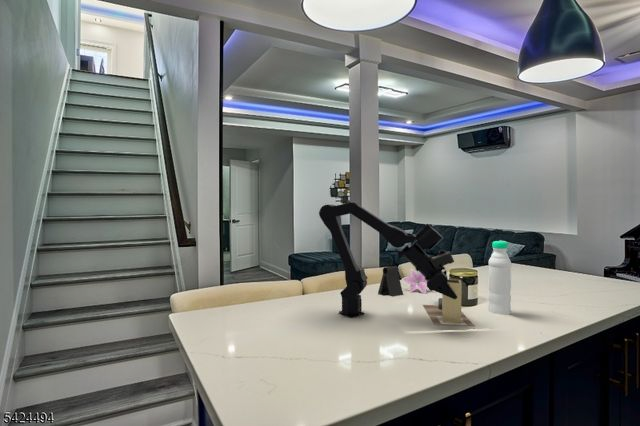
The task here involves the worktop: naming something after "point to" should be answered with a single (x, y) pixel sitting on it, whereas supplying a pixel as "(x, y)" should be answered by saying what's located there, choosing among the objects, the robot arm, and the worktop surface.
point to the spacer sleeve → (452, 303)
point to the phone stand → (390, 282)
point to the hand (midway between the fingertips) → (455, 295)
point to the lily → (416, 281)
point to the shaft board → (436, 315)
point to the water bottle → (499, 279)
